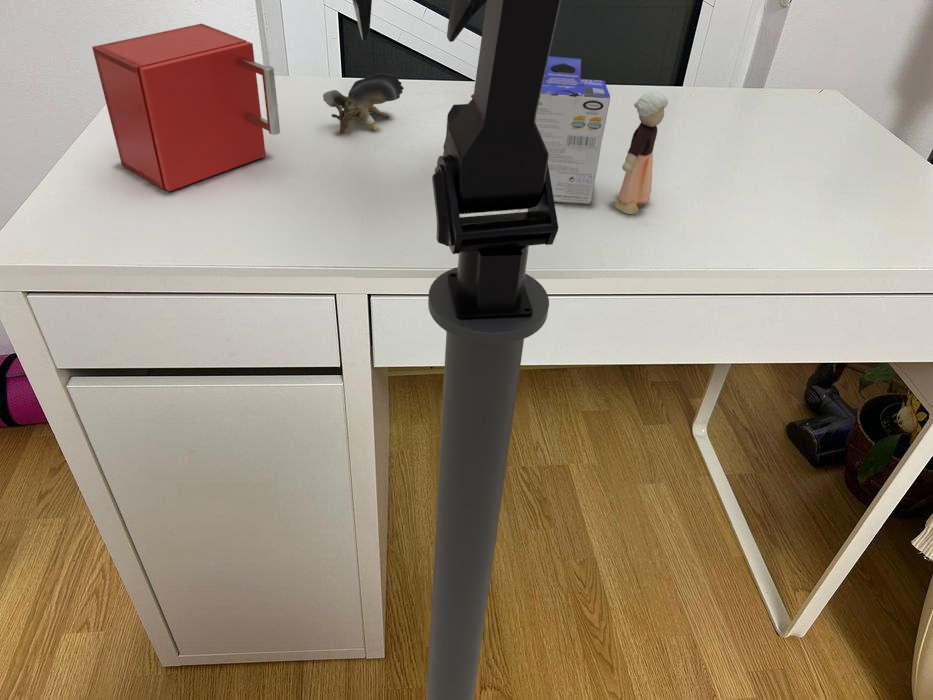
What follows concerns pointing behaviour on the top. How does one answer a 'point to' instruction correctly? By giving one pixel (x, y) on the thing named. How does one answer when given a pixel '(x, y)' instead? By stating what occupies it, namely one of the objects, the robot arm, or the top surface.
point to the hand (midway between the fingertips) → (407, 39)
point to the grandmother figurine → (641, 153)
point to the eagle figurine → (364, 99)
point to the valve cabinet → (127, 90)
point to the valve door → (208, 112)
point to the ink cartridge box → (572, 129)
